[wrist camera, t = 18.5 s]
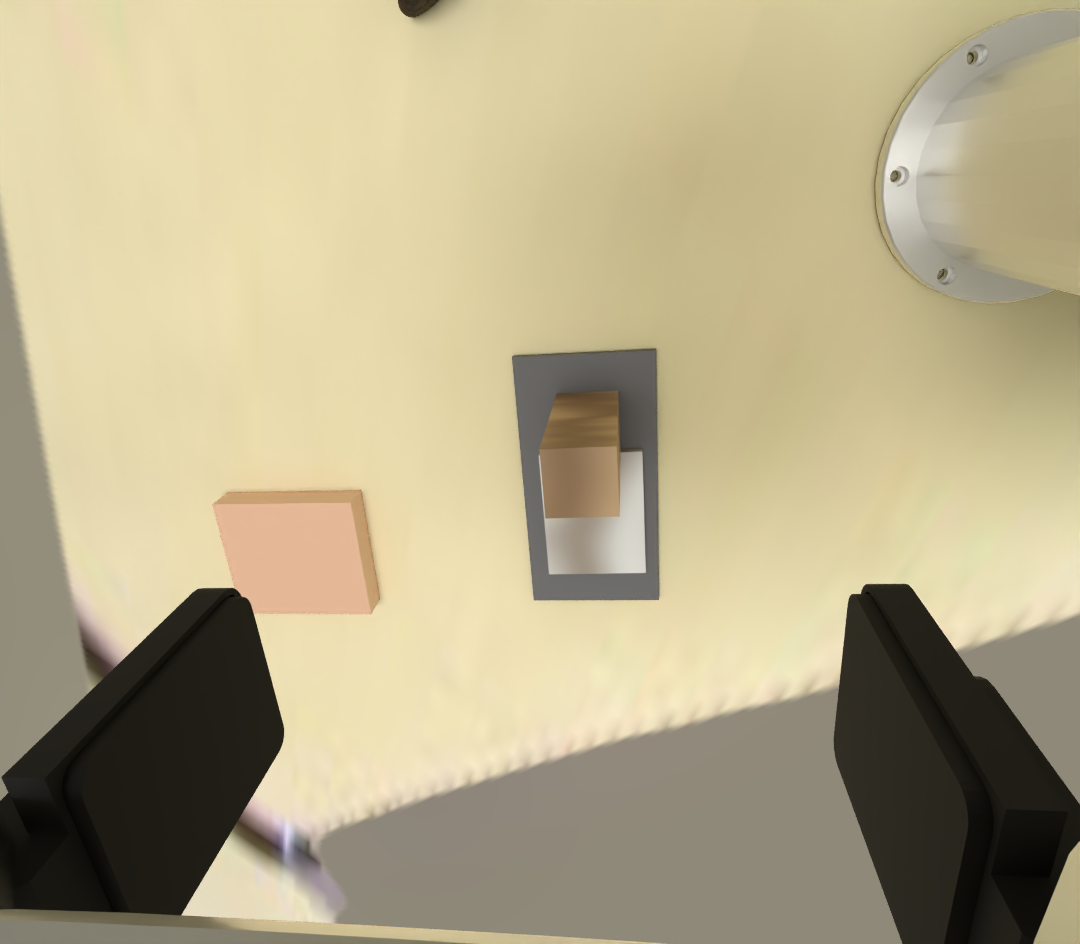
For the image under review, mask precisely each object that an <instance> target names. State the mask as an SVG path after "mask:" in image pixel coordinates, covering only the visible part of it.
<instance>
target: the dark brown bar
mask: <svg viewBox="0 0 1080 944" xmlns="http://www.w3.org/2000/svg"><path fill="white" fill-rule="evenodd" d="M437 1H438V0H398V4H399V8H400V10H401V11H402V12H403V14H405V15H406V16H408V17H416V16H419V15H420V14H422V13H423V12H425V11H426V10H427V9H428V8H430V7H431V6H433V5H434V4H435V3H436V2H437Z"/></svg>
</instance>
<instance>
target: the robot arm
mask: <svg viewBox="0 0 1080 944" xmlns="http://www.w3.org/2000/svg"><path fill="white" fill-rule="evenodd" d="M969 52H970V53H972V54H973V55H974V60H973V62H972V63H971V64H968V62H967V55H968V53H969ZM893 171H896V172H897V173H898V178H897V180H896V181H894V182H892V181H891V180H890V175H891V173H892V172H893ZM875 192H876V211H877V215H878V219H879V223H880V227H881V231H882V234H883V236H884V238H885V240H886V242H887V244H888V246H889V248H890V250H891V252H892V254H893V255H894V257H895V258H896V259H897V260H898V261H899V263H900V264H901V265H902V266H903V268H904V269H905V270H906V271H907V272H908V273H909V274H911V275H912V276H913V277H915V278H916V279H917V280H918V281H920V282H921V283H922V284H924V285H925V286H927V287H929V288H932V289H934V290H936V291H938V292H940V293H942V294H944V295H947V296H950V297H954V298H957V299H960V300H963V301H970V302H978V303H985V304H993V303H1012V302H1017V301H1022V300H1026V299H1030V298H1035V297H1039V296H1042V295H1044V294H1047V293H1049V292H1052V291H1054V290H1059V291H1063V292H1067V293H1071V294H1075V295H1079V296H1080V9H1047V10H1042V11H1037V12H1032V13H1027V14H1022V15H1019V16H1016V17H1013V18H1010V19H1008V20H1005V21H1002V22H1000V23H997V24H995V25H993V26H991V27H989V28H987V29H985V30H983V31H981V32H979V33H977V34H975V35H973V36H971V37H969V38H967V39H966V40H965V41H963V42H962V43H960V44H959V45H958V46H956V47H955V48H954V49H952V50H951V51H949V52H948V53H947V54H945V55H944V56H942V57H941V58H940V59H939V60H938V61H937V62H936V63H935V64H934V65H933V66H932V67H931V68H930V69H929V70H928V71H927V72H926V73H925V74H924V75H923V76H922V77H921V78H920V80H919V81H918V82H917V84H916V85H915V86H914V88H913V89H912V90H911V92H910V93H909V94H908V96H907V97H906V99H905V100H904V101H903V103H902V104H901V106H900V108H899V110H898V112H897V114H896V116H895V118H894V120H893V121H892V123H891V125H890V127H889V129H888V132H887V135H886V138H885V141H884V144H883V147H882V150H881V153H880V156H879V161H878V168H877V175H876V182H875ZM941 269H943V270H944V275H943V276H942V277H941V278H939V279H938V278H937V276H938V273H939V271H940V270H941ZM283 738H284V726H283V722H282V718H281V714H280V711H279V707H278V703H277V699H276V696H275V692H274V688H273V684H272V681H271V677H270V673H269V669H268V666H267V662H266V658H265V654H264V651H263V647H262V643H261V639H260V636H259V632H258V628H257V624H256V621H255V617H254V613H253V609H252V606H251V603H250V601H249V600H248V599H247V598H245V597H242V596H241V594H240V593H239V592H238V590H236V589H234V588H202V589H197V590H196V591H194V592H193V593H192V594H191V595H190V596H189V597H188V598H187V599H186V600H185V601H184V602H182V603H181V604H180V605H179V606H178V607H177V608H176V609H175V610H174V611H173V612H172V613H171V614H170V615H169V616H168V617H167V618H166V619H165V620H164V621H163V622H162V623H161V624H160V625H159V626H158V627H157V628H156V629H154V630H153V631H152V632H151V633H150V634H149V635H148V636H147V637H146V638H145V639H144V640H143V641H142V642H141V643H140V644H139V645H138V646H137V647H136V648H135V649H134V650H133V651H132V652H131V653H130V654H129V655H128V656H126V657H125V658H124V659H123V660H122V661H121V662H120V663H119V664H118V665H117V666H116V667H115V668H114V669H113V670H112V671H111V672H110V673H109V674H108V675H107V676H106V677H105V678H104V679H103V680H102V681H101V682H100V683H98V684H97V685H96V686H95V687H94V688H93V689H92V690H91V691H90V692H89V693H88V694H87V695H86V696H85V697H84V698H83V699H82V700H81V701H80V702H79V703H78V704H77V705H76V706H75V707H74V708H73V709H72V710H71V711H69V712H68V713H67V714H66V715H65V716H64V717H63V718H62V719H61V720H60V721H59V722H58V723H57V724H56V725H55V726H54V727H53V728H52V729H51V730H50V731H49V732H48V733H47V734H46V735H45V736H44V737H43V738H41V739H40V740H39V742H37V743H36V744H35V745H34V746H33V747H32V748H31V749H30V750H29V751H28V752H27V753H26V754H25V755H24V756H23V757H22V758H21V759H20V760H19V761H18V762H17V763H16V764H15V765H13V766H12V767H11V768H10V769H9V770H8V771H7V772H6V773H5V774H4V775H3V776H2V780H3V782H4V784H5V786H6V788H7V790H8V792H9V793H8V794H7V795H6V796H5V797H4V798H3V799H2V800H1V801H0V944H664V943H649V942H633V941H617V940H601V939H587V938H570V937H555V936H540V935H523V934H506V933H489V932H471V931H454V930H437V929H420V928H403V927H385V926H367V925H349V924H333V923H315V922H297V921H278V920H258V919H239V918H219V917H200V916H181V914H182V913H183V911H184V909H185V908H186V906H187V904H188V903H189V901H190V899H191V898H192V896H193V894H194V893H195V891H196V889H197V888H198V886H199V884H200V883H201V881H202V879H203V878H204V876H205V874H206V873H207V871H208V869H209V868H210V866H211V864H212V863H213V861H214V859H215V858H216V856H217V854H218V853H219V851H220V849H221V848H222V846H223V844H224V843H225V841H226V839H227V838H228V836H229V834H230V833H231V831H232V829H233V828H234V826H235V824H236V823H237V821H238V819H239V818H240V816H241V814H242V813H243V811H244V809H245V808H246V806H247V804H248V803H249V801H250V799H251V798H252V796H253V794H254V793H255V791H256V789H257V788H258V786H259V784H260V783H261V781H262V779H263V778H264V776H265V774H266V773H267V771H268V769H269V768H270V766H271V764H272V763H273V761H274V759H275V758H276V756H277V754H278V753H279V751H280V749H281V746H282V743H283ZM834 751H835V757H836V761H837V765H838V768H839V770H840V773H841V776H842V779H843V781H844V784H845V787H846V789H847V792H848V795H849V798H850V801H851V803H852V806H853V809H854V812H855V814H856V817H857V820H858V823H859V825H860V828H861V831H862V834H863V836H864V839H865V842H866V845H867V847H868V850H869V853H870V856H871V858H872V861H873V864H874V867H875V869H876V872H877V875H878V877H879V880H880V883H881V886H882V889H883V891H884V894H885V897H886V899H887V902H888V905H889V908H890V911H891V913H892V916H893V919H894V922H895V924H896V927H897V930H898V932H899V935H900V938H901V941H902V943H903V944H1080V804H1079V803H1078V802H1077V800H1076V799H1075V797H1074V796H1073V795H1072V793H1071V792H1070V791H1069V789H1068V788H1067V786H1066V785H1065V784H1064V782H1063V781H1062V780H1061V778H1060V777H1059V775H1058V774H1057V773H1056V771H1055V770H1054V768H1053V767H1052V766H1051V764H1050V763H1049V762H1048V761H1047V759H1046V758H1045V756H1044V755H1043V753H1042V752H1041V751H1040V749H1039V748H1038V746H1037V745H1036V744H1035V742H1034V741H1033V740H1032V738H1031V737H1030V736H1029V734H1028V733H1027V731H1026V730H1025V729H1024V727H1023V726H1022V724H1021V723H1020V722H1019V720H1018V719H1017V718H1016V716H1015V715H1014V714H1013V712H1012V711H1011V709H1010V708H1009V707H1008V705H1007V704H1006V702H1005V701H1004V700H1003V698H1002V697H1001V696H1000V694H999V693H998V692H997V690H996V689H995V687H994V686H992V684H991V683H990V682H989V681H988V680H987V679H984V678H982V677H975V676H973V675H972V673H971V672H970V670H969V669H968V667H967V666H966V665H965V663H964V662H963V660H962V659H961V658H960V656H959V655H958V653H957V652H956V650H955V649H954V648H953V646H952V645H951V643H950V642H949V640H948V639H947V638H946V636H945V635H944V633H943V632H942V630H941V629H940V628H939V626H938V625H937V623H936V622H935V620H934V619H933V618H932V616H931V615H930V613H929V612H928V610H927V609H926V608H925V606H924V605H923V603H922V602H921V601H920V599H919V598H918V596H917V595H916V593H915V592H914V591H913V589H912V588H911V587H910V586H909V585H907V584H866V585H865V586H864V587H863V589H862V592H861V594H852V595H851V596H850V598H849V601H848V608H847V618H846V627H845V637H844V646H843V656H842V665H841V674H840V684H839V694H838V703H837V712H836V722H835V731H834Z"/></svg>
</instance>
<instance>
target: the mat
mask: <svg viewBox="0 0 1080 944" xmlns="http://www.w3.org/2000/svg"><path fill="white" fill-rule="evenodd" d="M512 361H513V372H514V383H515V395H516V406H517V417H518V428H519V439H520V450H521V462H522V473H523V484H524V495H525V506H526V517H527V528H528V540H529V551H530V562H531V573H532V584H533V595H534V600H659V572H658V488H657V403H656V349H646V350H625V351H604V352H583V353H563V354H542V355H521V356H513V357H512ZM602 391H618V399H619V424H620V449H626V448H642V455H643V490H644V526H645V561H646V573H608V574H549V567H548V556H547V545H546V533H545V522H544V510H543V499H542V487H541V476H540V465H539V453H540V452H539V449H540V445H541V442H542V439H543V436H544V433H545V429H546V426H547V423H548V420H549V416H550V413H551V410H552V407H553V403H554V400H555V397H556V394H560V393H581V392H602Z"/></svg>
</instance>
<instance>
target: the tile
mask: <svg viewBox="0 0 1080 944" xmlns="http://www.w3.org/2000/svg"><path fill="white" fill-rule="evenodd" d="M212 505H213V508H214V512H215V516H216V520H217V524H218V527H219V531H220V535H221V539H222V543H223V546H224V550H225V554H226V558H227V561H228V565H229V569H230V573H231V577H232V580H233V584H234V588H235V589H236V590H238V592H239V593H240V594H241V596H242V597H245V598H247V599H248V600H249V601H250V603H251V606H252V609H253V613H268V614H371V613H372V612H373V610H374V608H375V607H376V605H377V603H378V601H379V600H380V596H379V590H378V585H377V579H376V573H375V568H374V562H373V556H372V550H371V545H370V539H369V533H368V528H367V522H366V516H365V511H364V505H363V499H362V494H361V490H357V491H294V492H230V493H226V494H225V495H224V496H223V497H221V498H220V499H219V500H217V501H216V502H215V503H214V504H212Z"/></svg>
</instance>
